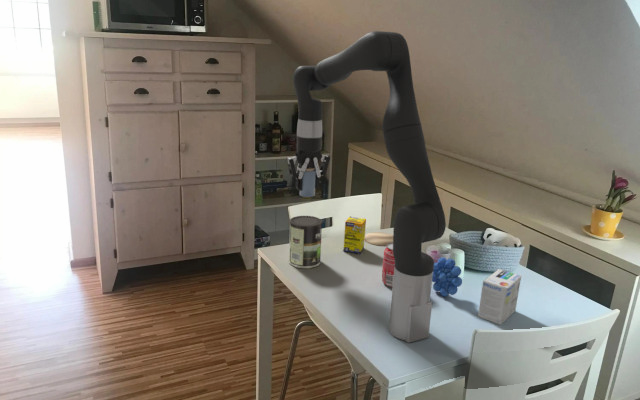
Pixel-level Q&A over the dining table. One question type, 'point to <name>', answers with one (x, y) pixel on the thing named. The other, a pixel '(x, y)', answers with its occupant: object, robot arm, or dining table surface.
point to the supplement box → (354, 235)
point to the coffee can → (305, 241)
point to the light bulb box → (499, 296)
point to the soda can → (388, 266)
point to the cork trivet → (379, 238)
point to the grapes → (446, 276)
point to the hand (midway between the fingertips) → (307, 189)
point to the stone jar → (308, 183)
